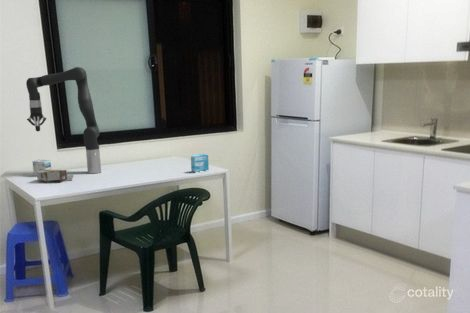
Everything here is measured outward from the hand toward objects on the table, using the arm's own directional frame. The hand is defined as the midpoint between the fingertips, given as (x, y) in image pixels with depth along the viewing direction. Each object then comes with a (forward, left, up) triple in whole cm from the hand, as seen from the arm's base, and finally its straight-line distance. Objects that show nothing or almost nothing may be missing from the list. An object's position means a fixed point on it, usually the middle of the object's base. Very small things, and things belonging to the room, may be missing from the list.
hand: (38, 131), depth 308 cm
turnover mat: (-14, +22, -31) cm, 41 cm away
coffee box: (-3, +23, -27) cm, 36 cm away
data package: (-109, +32, -31) cm, 118 cm away
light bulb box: (-1, +4, -31) cm, 32 cm away
